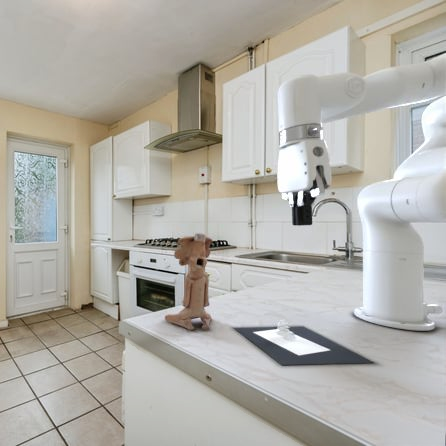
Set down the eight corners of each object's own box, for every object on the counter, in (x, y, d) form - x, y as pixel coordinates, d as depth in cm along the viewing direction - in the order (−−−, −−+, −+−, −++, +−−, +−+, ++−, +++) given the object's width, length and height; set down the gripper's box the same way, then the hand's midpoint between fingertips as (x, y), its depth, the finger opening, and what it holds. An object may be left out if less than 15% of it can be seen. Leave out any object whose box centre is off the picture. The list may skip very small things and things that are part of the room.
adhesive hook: (284, 334, 54) (284, 318, 54) (297, 339, 51) (297, 323, 51) (272, 336, 53) (272, 319, 53) (284, 341, 51) (284, 324, 51)
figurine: (210, 318, 63) (209, 231, 63) (220, 333, 55) (220, 233, 55) (163, 317, 64) (163, 231, 64) (167, 331, 56) (167, 233, 56)
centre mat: (303, 326, 58) (303, 326, 58) (374, 363, 43) (374, 362, 43) (233, 328, 57) (233, 327, 57) (281, 365, 42) (281, 364, 42)
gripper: (348, 126, 51) (351, 225, 51) (291, 148, 66) (294, 224, 66) (310, 127, 51) (312, 226, 51) (261, 148, 66) (263, 225, 66)
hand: (302, 225), depth 58 cm, fingers closed
